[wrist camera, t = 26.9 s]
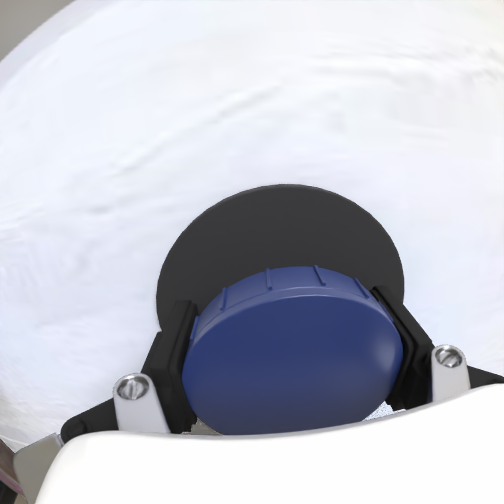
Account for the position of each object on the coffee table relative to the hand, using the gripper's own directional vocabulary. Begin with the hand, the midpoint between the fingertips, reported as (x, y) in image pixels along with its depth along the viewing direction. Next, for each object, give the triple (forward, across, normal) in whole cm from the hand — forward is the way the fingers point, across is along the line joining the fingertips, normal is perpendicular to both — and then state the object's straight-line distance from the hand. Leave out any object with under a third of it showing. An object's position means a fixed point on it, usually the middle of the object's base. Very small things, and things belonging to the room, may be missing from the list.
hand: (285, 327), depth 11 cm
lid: (-3, 0, 0) cm, 3 cm away
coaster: (+1, 0, 0) cm, 1 cm away
